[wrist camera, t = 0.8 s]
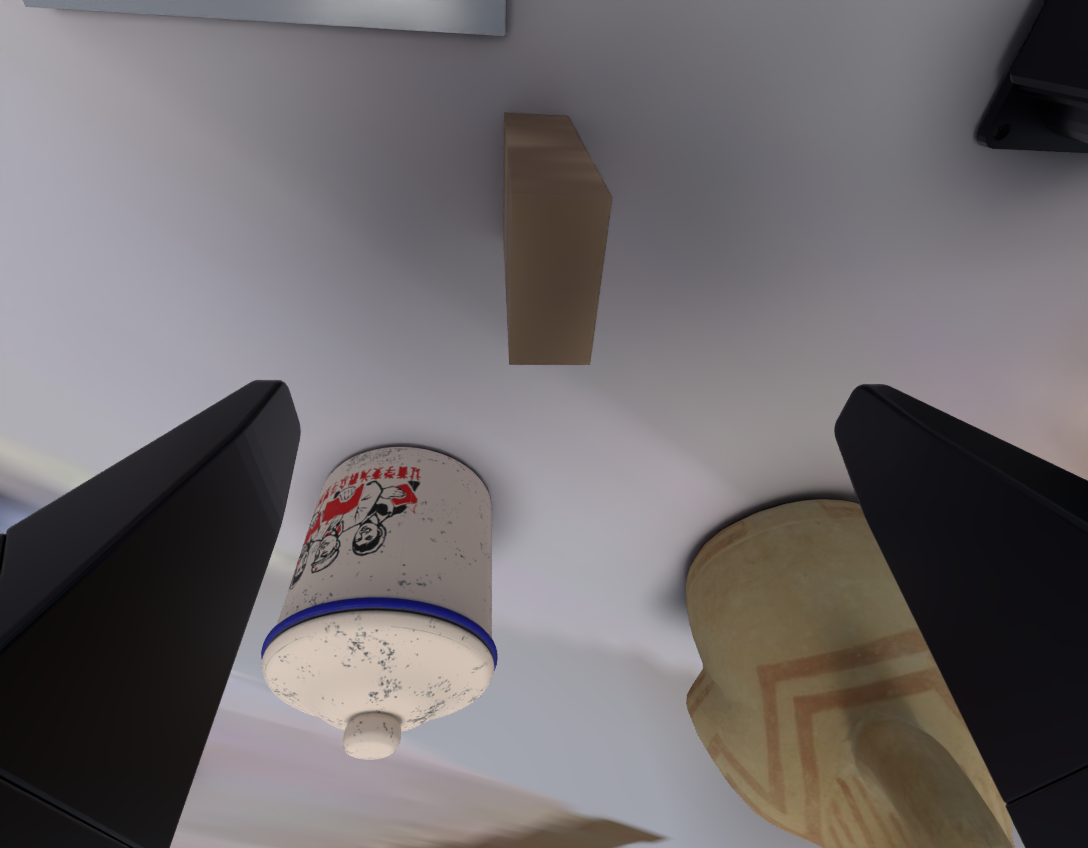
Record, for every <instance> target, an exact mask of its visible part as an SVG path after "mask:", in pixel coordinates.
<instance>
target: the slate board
mask: <svg viewBox="0 0 1088 848" xmlns="http://www.w3.org/2000/svg"><path fill="white" fill-rule="evenodd" d="M23 2H24V4H25V6H26V7H40V8H56V9H72V10H88V11H105V12H121V13H137V14H153V15H170V16H186V17H202V18H218V19H235V20H251V21H267V22H283V23H300V24H316V25H332V26H349V27H365V28H381V29H397V30H414V31H430V32H446V33H462V34H479V35H495V36H505V19H506V0H23Z"/></svg>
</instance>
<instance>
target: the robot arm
mask: <svg viewBox="0 0 1088 848" xmlns="http://www.w3.org/2000/svg"><path fill="white" fill-rule="evenodd" d="M1000 125H1002V126H1001V129H1000V131H999V132H998V133H997V134H996V135H995V136H994V133H995V131H996V129H997V128H998V127H999V126H1000ZM977 141H978V142H979V144H981V145H984V146H987V147H989V148H993V149H1012V150H1034V151H1056V152H1078V153H1088V0H1046V2H1045V4H1044V6H1043V8H1042V10H1041V12H1040V14H1039V16H1038V18H1037V19H1036V21H1035V23H1034V25H1033V27H1032V29H1031V31H1030V33H1029V35H1028V37H1027V39H1026V40H1025V42H1024V44H1023V46H1022V48H1021V50H1020V52H1019V54H1018V56H1017V58H1016V60H1015V62H1014V63H1013V65H1012V67H1011V69H1010V71H1009V73H1008V75H1007V77H1006V79H1005V81H1004V83H1003V84H1002V86H1001V88H1000V90H999V92H998V94H997V96H996V98H995V100H994V102H993V104H992V106H991V107H990V109H989V111H988V113H987V115H986V117H985V119H984V121H983V123H982V125H981V127H980V128H979V131H978V134H977ZM834 432H835V438H836V441H837V444H838V446H839V449H840V452H841V455H842V457H843V460H844V463H845V466H846V469H847V471H848V474H849V477H850V480H851V482H852V485H853V488H854V491H855V494H856V496H857V499H858V502H859V504H860V507H861V510H862V512H863V515H864V517H865V519H866V521H867V523H868V526H869V528H870V530H871V532H872V534H873V536H874V538H875V540H876V542H877V544H878V546H879V548H880V550H881V552H882V554H883V556H884V558H885V560H886V562H887V565H888V567H889V569H890V571H891V573H892V575H893V577H894V579H895V581H896V583H897V585H898V587H899V589H900V591H901V593H902V595H903V597H904V599H905V601H906V603H907V605H908V608H909V610H910V612H911V614H912V616H913V618H914V620H915V622H916V624H917V626H918V628H919V630H920V632H921V634H922V636H923V638H924V640H925V642H926V644H927V646H928V648H929V651H930V653H931V655H932V657H933V659H934V661H935V663H936V665H937V667H938V669H939V671H940V673H941V675H942V677H943V679H944V681H945V683H946V685H947V687H948V689H949V691H950V694H951V696H952V698H953V700H954V702H955V704H956V706H957V708H958V710H959V712H960V714H961V716H962V718H963V720H964V722H965V724H966V726H967V728H968V730H969V732H970V734H971V737H972V739H973V741H974V743H975V745H976V747H977V749H978V751H979V753H980V755H981V757H982V759H983V761H984V763H985V765H986V767H987V769H988V771H989V773H990V775H991V777H992V780H993V782H994V784H995V786H996V788H997V790H998V792H999V794H1000V796H1001V798H1002V800H1003V801H1004V802H1005V803H1007V804H1006V805H1005V807H1006V809H1007V811H1008V813H1009V815H1010V817H1011V820H1012V822H1013V824H1014V826H1015V828H1016V830H1017V832H1018V834H1019V836H1020V838H1021V840H1022V842H1023V844H1024V846H1025V848H1088V481H1087V480H1085V479H1083V478H1081V477H1079V476H1077V475H1075V474H1073V473H1070V472H1068V471H1066V470H1064V469H1062V468H1060V467H1058V466H1056V465H1054V464H1052V463H1050V462H1047V461H1045V460H1043V459H1041V458H1039V457H1037V456H1035V455H1033V454H1031V453H1029V452H1026V451H1024V450H1022V449H1020V448H1018V447H1016V446H1014V445H1012V444H1010V443H1008V442H1006V441H1003V440H1001V439H999V438H997V437H995V436H993V435H991V434H989V433H987V432H985V431H982V430H980V429H978V428H976V427H974V426H972V425H970V424H968V423H966V422H964V421H962V420H959V419H957V418H955V417H953V416H951V415H949V414H947V413H945V412H943V411H941V410H938V409H936V408H934V407H932V406H930V405H928V404H926V403H924V402H922V401H920V400H918V399H915V398H913V397H911V396H909V395H907V394H905V393H903V392H901V391H899V390H897V389H894V388H892V387H890V386H888V385H883V384H862V385H859V386H858V387H856V388H855V389H854V390H853V392H852V393H851V395H850V397H849V399H848V401H847V402H846V404H845V406H844V408H843V410H842V412H841V413H840V415H839V417H838V419H837V421H836V424H835V430H834ZM300 433H301V430H300V423H299V419H298V416H297V413H296V410H295V407H294V403H293V400H292V397H291V394H290V391H289V388H288V386H287V385H286V383H284V382H283V381H281V380H255V381H252V382H250V383H249V384H247V385H245V386H244V387H242V388H240V389H239V390H237V391H235V392H234V393H232V394H230V395H229V396H227V397H226V398H224V399H222V400H221V401H219V402H217V403H216V404H214V405H212V406H211V407H209V408H207V409H206V410H204V411H202V412H201V413H199V414H197V415H196V416H194V417H192V418H191V419H189V420H187V421H186V422H184V423H182V424H181V425H179V426H177V427H176V428H174V429H172V430H171V431H169V432H168V433H166V434H164V435H163V436H161V437H159V438H158V439H156V440H154V441H153V442H151V443H149V444H148V445H146V446H144V447H143V448H141V449H139V450H138V451H136V452H134V453H133V454H131V455H129V456H128V457H126V458H124V459H123V460H121V461H119V462H118V463H116V464H114V465H113V466H111V467H109V468H108V469H106V470H104V471H103V472H101V473H100V474H98V475H96V476H95V477H93V478H91V479H90V480H88V481H86V482H85V483H83V484H81V485H80V486H78V487H76V488H75V489H73V490H71V491H70V492H68V493H66V494H65V495H63V496H61V497H60V498H58V499H56V500H55V501H53V502H51V503H50V504H48V505H46V506H45V507H43V508H41V509H40V510H38V511H36V512H35V513H33V514H32V515H30V516H28V517H27V518H25V519H23V520H22V521H20V522H18V523H17V524H15V525H13V526H12V527H10V528H9V529H8V530H7V532H6V534H0V848H170V845H171V842H172V839H173V837H174V834H175V831H176V828H177V825H178V822H179V819H180V816H181V814H182V811H183V808H184V805H185V802H186V799H187V796H188V793H189V790H190V788H191V785H192V782H193V779H194V776H195V773H196V770H197V767H198V765H199V762H200V759H201V756H202V753H203V750H204V747H205V744H206V742H207V739H208V736H209V733H210V730H211V727H212V724H213V721H214V718H215V716H216V713H217V710H218V707H219V704H220V701H221V698H222V695H223V693H224V690H225V687H226V684H227V681H228V678H229V675H230V672H231V670H232V667H233V664H234V661H235V658H236V655H237V652H238V649H239V646H240V644H241V641H242V638H243V635H244V632H245V629H246V626H247V623H248V621H249V617H250V615H251V612H252V609H253V606H254V603H255V600H256V597H257V595H258V591H259V589H260V586H261V583H262V580H263V577H264V575H265V572H266V569H267V566H268V563H269V560H270V557H271V554H272V551H273V549H274V546H275V543H276V540H277V537H278V534H279V531H280V527H281V524H282V520H283V516H284V512H285V508H286V503H287V498H288V493H289V489H290V484H291V479H292V474H293V470H294V465H295V460H296V455H297V450H298V446H299V441H300Z"/></svg>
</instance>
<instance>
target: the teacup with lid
mask: <svg viewBox="0 0 1088 848" xmlns="http://www.w3.org/2000/svg"><path fill="white" fill-rule="evenodd" d="M261 655H262V671H263V675H264V678H265V681H266V683H267V685H268V686H269V688H270V689H271V691H272V692H273V693H274V694H275V695H276V696H277V697H279V698H280V699H281V700H282V701H284V702H285V703H287V704H288V705H290V706H292V707H294V708H295V709H298V710H300V711H302V712H305V713H307V714H310V715H313V716H316V717H319V718H321V719H323V720H324V721H325V722H327V723H328V724H330V725H332V726H334V727H336V728H338V729H341V730H344V731H345V732H344V737H343V747H344V749H345V751H346V753H347V754H348V755H350V756H352V757H355V758H358V759H368V760H371V759H380V758H384V757H387V756H389V755H391V754H392V753H394V752H395V750H396V749H397V748H398V746H399V743H400V738H401V732H403V731H406V730H410V729H412V728H414V727H417V726H419V725H421V724H423V723H424V722H426V721H428V720H432V719H436V718H439V717H443V716H446V715H448V714H451V713H454V712H456V711H458V710H460V709H462V708H464V707H466V706H467V705H469V704H471V703H472V702H473V701H475V700H476V699H477V698H478V697H479V696H480V695H481V694H482V693H483V692H484V691H485V690H486V688H487V687H488V685H489V683H490V681H491V679H492V676H493V674H494V670H495V668H496V665H497V650H496V646H495V644H494V642H493V640H492V505H491V500H490V496H489V493H488V491H487V489H486V487H485V485H484V484H483V482H482V481H481V480H480V479H479V477H478V476H477V475H476V474H475V473H474V472H473V471H472V470H470V469H469V468H468V467H466V466H465V465H463V464H462V463H460V462H458V461H457V460H455V459H453V458H451V457H448V456H446V455H443V454H440V453H437V452H434V451H430V450H426V449H420V448H412V447H389V448H381V449H376V450H372V451H368V452H365V453H362V454H359V455H357V456H354V457H352V458H350V459H349V460H347V461H345V462H344V463H342V464H341V465H340V466H338V467H337V468H336V469H335V470H334V471H333V472H332V473H331V474H330V476H329V477H328V478H327V480H326V482H325V483H324V486H323V488H322V491H321V494H320V497H319V500H318V503H317V506H316V509H315V512H314V515H313V518H312V521H311V524H310V527H309V530H308V533H307V536H306V539H305V542H304V545H303V548H302V551H301V554H300V557H299V560H298V563H297V566H296V569H295V572H294V575H293V578H292V581H291V584H290V587H289V590H288V593H287V596H286V599H285V602H284V605H283V608H282V611H281V614H280V617H279V620H278V623H277V625H276V626H275V627H274V628H273V629H272V630H271V631H270V633H269V634H268V636H267V637H266V639H265V641H264V643H263V647H262V651H261Z"/></svg>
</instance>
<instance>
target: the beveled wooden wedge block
mask: <svg viewBox="0 0 1088 848" xmlns="http://www.w3.org/2000/svg"><path fill="white" fill-rule="evenodd" d="M611 203H612V196H611V194H610V192H609V190H608V188H607V186H606V185H605V183H604V181H603V179H602V177H601V175H600V174H599V172H598V170H597V168H596V166H595V164H594V163H593V161H592V159H591V157H590V155H589V153H588V152H587V150H586V148H585V146H584V144H583V142H582V141H581V139H580V137H579V135H578V133H577V131H576V130H575V128H574V126H573V124H572V122H571V120H570V119H569V117H568V116H559V115H539V114H518V113H504V260H505V281H506V303H507V325H508V347H509V365H590V361H591V353H592V346H593V338H594V331H595V323H596V316H597V308H598V301H599V293H600V286H601V278H602V271H603V263H604V256H605V248H606V241H607V233H608V226H609V218H610V211H611Z"/></svg>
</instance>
